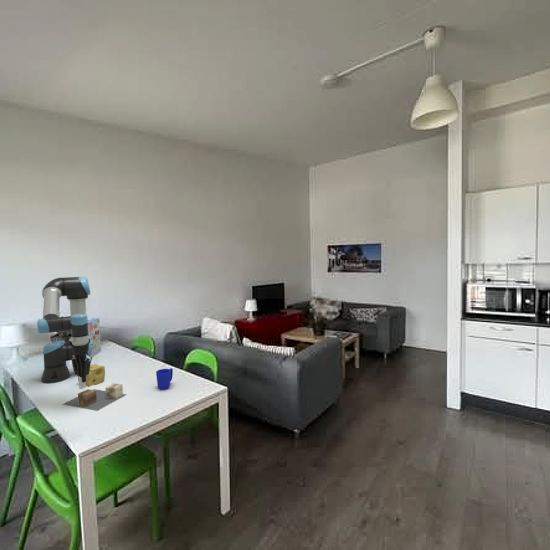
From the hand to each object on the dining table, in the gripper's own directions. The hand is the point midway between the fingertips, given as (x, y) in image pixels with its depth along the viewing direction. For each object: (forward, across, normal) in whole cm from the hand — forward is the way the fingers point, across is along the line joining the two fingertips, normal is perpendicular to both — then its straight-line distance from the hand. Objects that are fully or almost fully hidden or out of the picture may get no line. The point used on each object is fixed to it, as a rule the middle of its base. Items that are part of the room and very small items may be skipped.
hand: (82, 387), depth 173 cm
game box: (+9, -67, +66) cm, 95 cm away
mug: (+9, +28, +32) cm, 43 cm away
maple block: (+8, +10, +11) cm, 17 cm away
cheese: (+9, -19, +23) cm, 31 cm away
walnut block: (+5, 0, 0) cm, 5 cm away
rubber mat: (+8, +3, +5) cm, 10 cm away
